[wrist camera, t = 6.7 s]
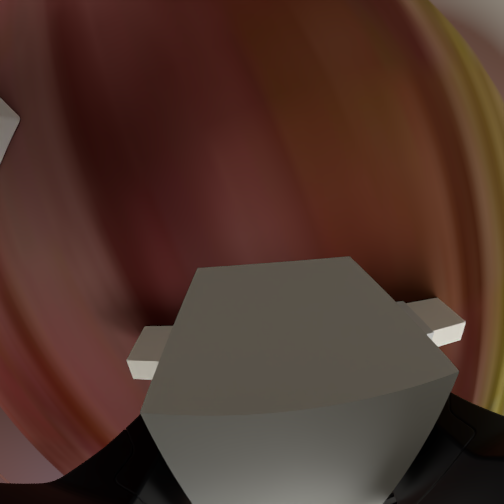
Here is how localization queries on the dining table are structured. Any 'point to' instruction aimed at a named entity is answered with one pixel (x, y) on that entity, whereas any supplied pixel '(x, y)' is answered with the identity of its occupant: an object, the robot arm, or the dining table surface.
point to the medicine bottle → (6, 126)
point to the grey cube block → (293, 386)
